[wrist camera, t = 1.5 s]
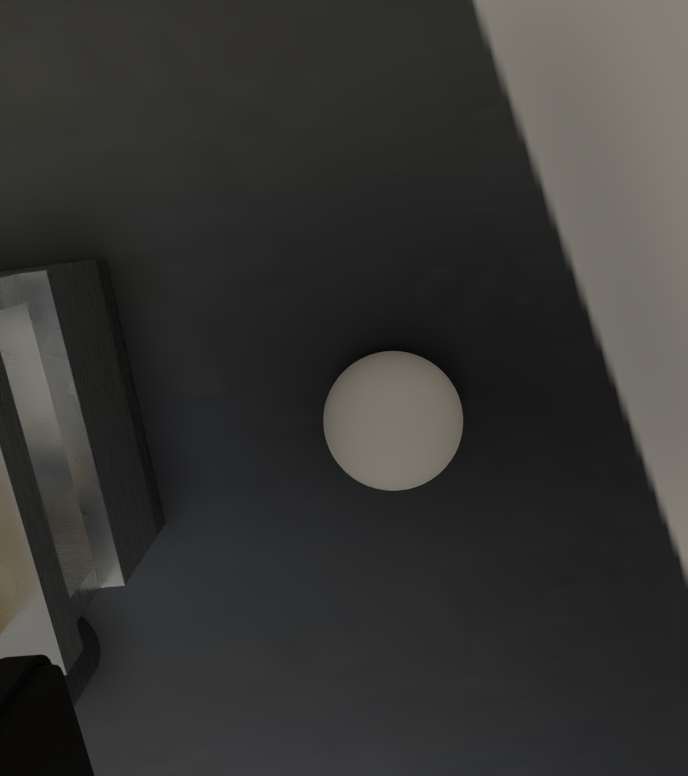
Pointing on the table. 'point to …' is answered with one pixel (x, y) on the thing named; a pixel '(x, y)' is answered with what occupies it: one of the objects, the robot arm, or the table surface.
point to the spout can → (83, 662)
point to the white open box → (66, 457)
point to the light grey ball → (393, 420)
